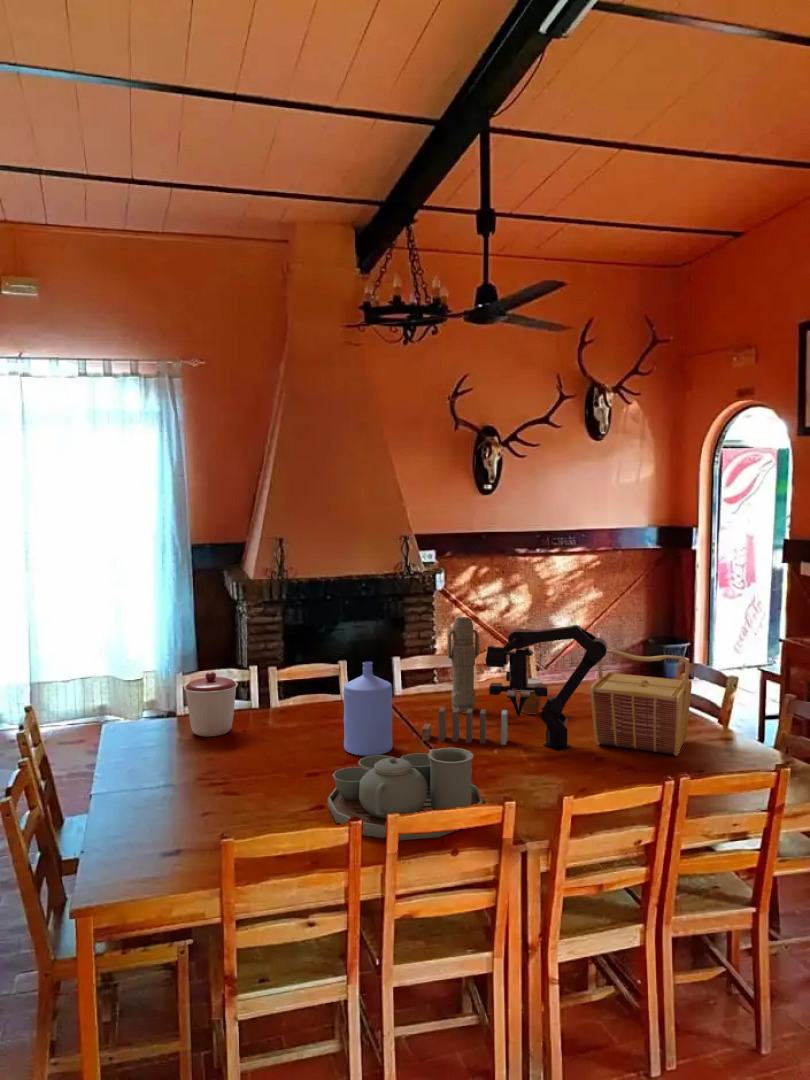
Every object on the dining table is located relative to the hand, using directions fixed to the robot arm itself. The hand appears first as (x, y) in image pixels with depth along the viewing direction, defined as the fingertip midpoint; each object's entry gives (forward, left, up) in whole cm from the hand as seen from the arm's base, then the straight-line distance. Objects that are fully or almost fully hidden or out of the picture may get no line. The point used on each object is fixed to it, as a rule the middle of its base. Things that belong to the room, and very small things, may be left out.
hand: (518, 715), depth 258 cm
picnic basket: (-24, -32, -9) cm, 41 cm away
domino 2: (+15, +15, -9) cm, 23 cm away
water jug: (+23, +43, -9) cm, 50 cm away
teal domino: (+3, +3, -9) cm, 10 cm away
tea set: (-23, +60, -10) cm, 65 cm away
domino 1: (+18, +18, -9) cm, 27 cm away
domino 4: (+8, +8, -9) cm, 15 cm away
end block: (+22, +22, -9) cm, 32 cm away
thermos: (+41, -10, -9) cm, 43 cm away
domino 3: (+11, +11, -9) cm, 19 cm away
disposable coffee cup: (+24, -28, -9) cm, 38 cm away
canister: (+69, +78, -9) cm, 105 cm away
